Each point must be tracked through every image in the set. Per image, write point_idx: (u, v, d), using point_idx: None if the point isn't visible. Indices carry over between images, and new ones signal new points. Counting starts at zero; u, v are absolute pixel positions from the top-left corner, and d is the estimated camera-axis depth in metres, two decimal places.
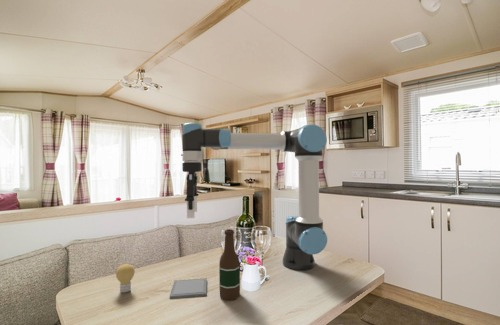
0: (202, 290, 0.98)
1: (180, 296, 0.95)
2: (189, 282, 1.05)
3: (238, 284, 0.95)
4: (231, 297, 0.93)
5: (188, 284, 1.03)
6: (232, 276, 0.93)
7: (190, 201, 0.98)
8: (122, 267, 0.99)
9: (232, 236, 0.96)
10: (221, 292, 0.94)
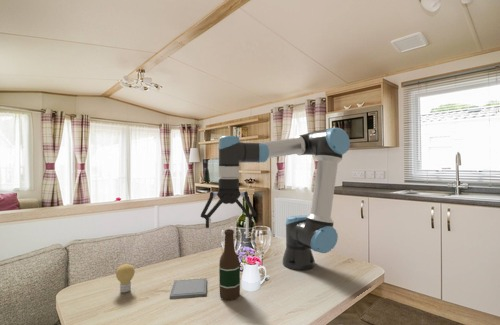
0: (202, 290, 0.98)
1: (180, 296, 0.95)
2: (189, 282, 1.05)
3: (238, 284, 0.95)
4: (231, 297, 0.93)
5: (188, 284, 1.03)
6: (232, 276, 0.93)
7: None
8: (122, 267, 0.99)
9: (232, 236, 0.96)
10: (221, 292, 0.94)
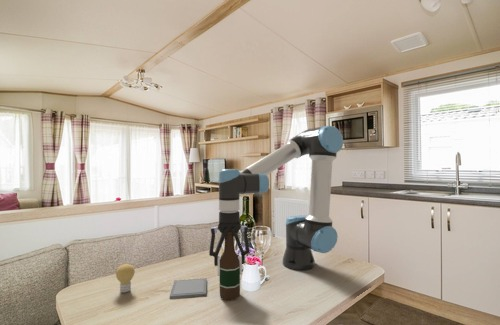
0: (202, 290, 0.98)
1: (180, 296, 0.95)
2: (189, 282, 1.05)
3: (238, 284, 0.95)
4: (231, 297, 0.93)
5: (188, 284, 1.03)
6: (232, 276, 0.93)
7: (214, 257, 0.95)
8: (122, 267, 0.99)
9: (232, 236, 0.96)
10: (221, 292, 0.94)
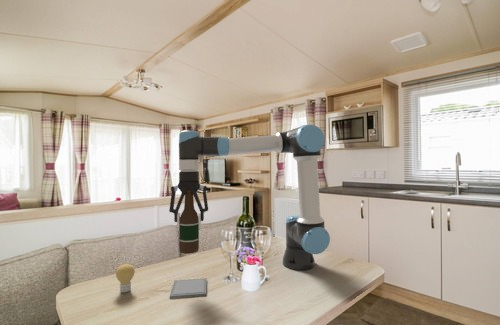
0: (202, 290, 0.98)
1: (180, 296, 0.95)
2: (189, 282, 1.05)
3: (196, 239, 1.00)
4: (189, 250, 0.99)
5: (188, 284, 1.03)
6: (191, 231, 0.99)
7: None
8: (122, 267, 0.99)
9: (191, 194, 1.01)
10: (180, 246, 0.99)
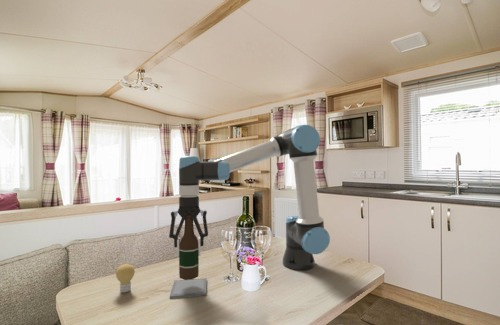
0: (202, 290, 0.98)
1: (180, 296, 0.95)
2: (189, 282, 1.05)
3: (196, 265, 1.00)
4: (189, 276, 0.98)
5: (188, 284, 1.03)
6: (190, 257, 0.99)
7: None
8: (122, 267, 0.99)
9: (191, 220, 1.01)
10: (180, 272, 0.99)
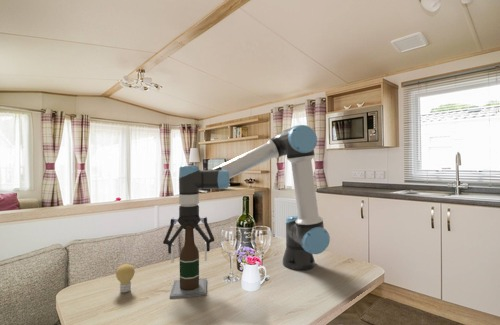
0: (202, 290, 0.98)
1: (180, 296, 0.95)
2: None
3: (196, 275, 1.00)
4: (189, 287, 0.98)
5: None
6: (191, 267, 0.99)
7: None
8: (122, 267, 0.99)
9: (192, 230, 1.01)
10: (180, 283, 0.99)
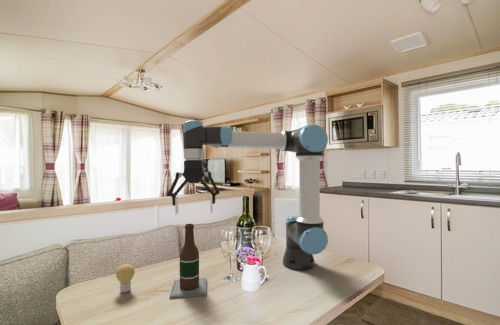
0: (202, 290, 0.98)
1: (180, 296, 0.95)
2: None
3: (196, 275, 1.00)
4: (189, 287, 0.98)
5: None
6: (191, 267, 0.99)
7: (172, 197, 1.03)
8: (122, 267, 0.99)
9: (192, 230, 1.01)
10: (180, 283, 0.99)
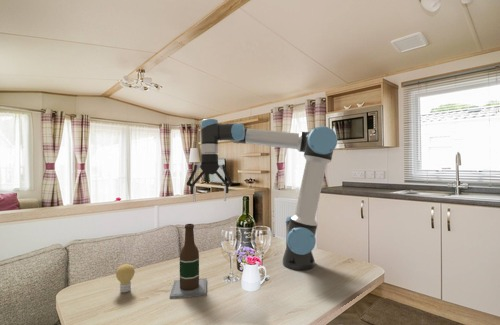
0: (202, 290, 0.98)
1: (180, 296, 0.95)
2: None
3: (196, 275, 1.00)
4: (189, 287, 0.98)
5: None
6: (191, 267, 0.99)
7: None
8: (122, 267, 0.99)
9: (192, 230, 1.01)
10: (180, 283, 0.99)
